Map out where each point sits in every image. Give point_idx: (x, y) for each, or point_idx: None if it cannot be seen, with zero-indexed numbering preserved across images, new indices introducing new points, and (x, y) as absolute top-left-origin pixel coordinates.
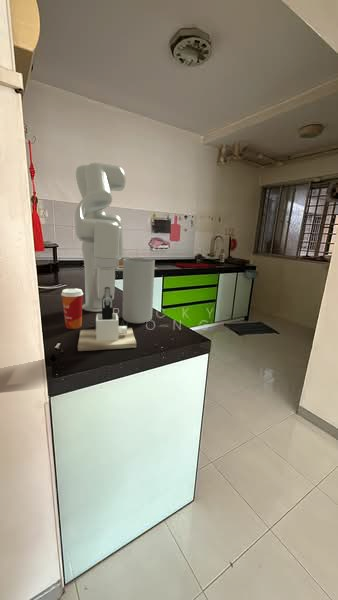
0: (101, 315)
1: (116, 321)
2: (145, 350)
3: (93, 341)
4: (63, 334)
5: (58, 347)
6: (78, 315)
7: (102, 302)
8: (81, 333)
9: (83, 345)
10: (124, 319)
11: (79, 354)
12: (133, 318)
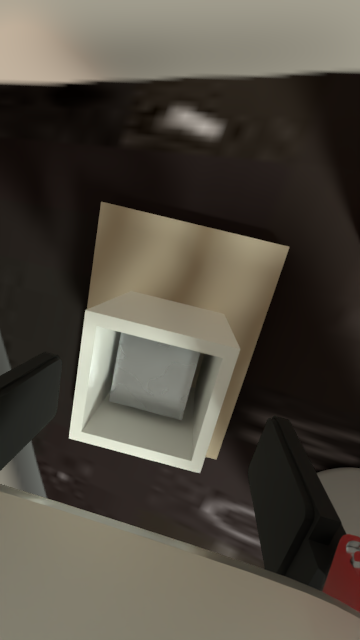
0: (215, 375)
1: (74, 422)
2: (55, 426)
3: (133, 279)
4: (315, 160)
5: (171, 123)
6: None
7: (287, 464)
8: (241, 243)
9: (105, 229)
10: (344, 470)
11: (81, 209)
12: None
